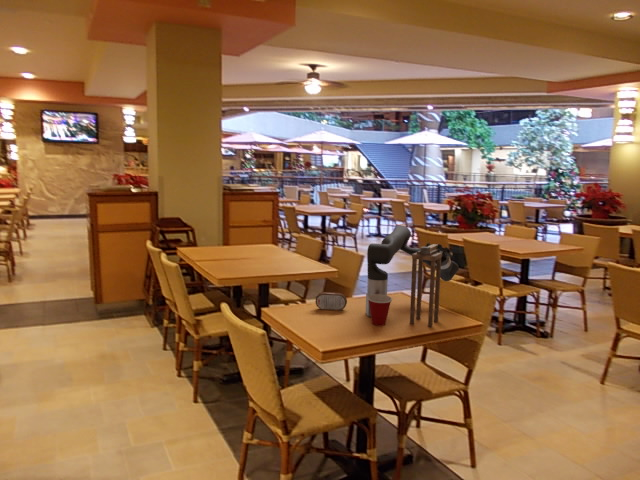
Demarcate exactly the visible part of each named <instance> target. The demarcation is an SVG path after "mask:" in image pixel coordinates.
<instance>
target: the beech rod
mask: <svg viewBox="0 0 640 480" xmlns="http://www.w3.org/2000/svg"><path fill="white" fill-rule="evenodd" d="M438 244H439V243H437V244H436V243H433V244H430V246H428V247H425V246H421V247H420V248H419V249H420V255H428V253H429V252H431V251H433V250H438V248H437V247H438Z"/></svg>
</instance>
